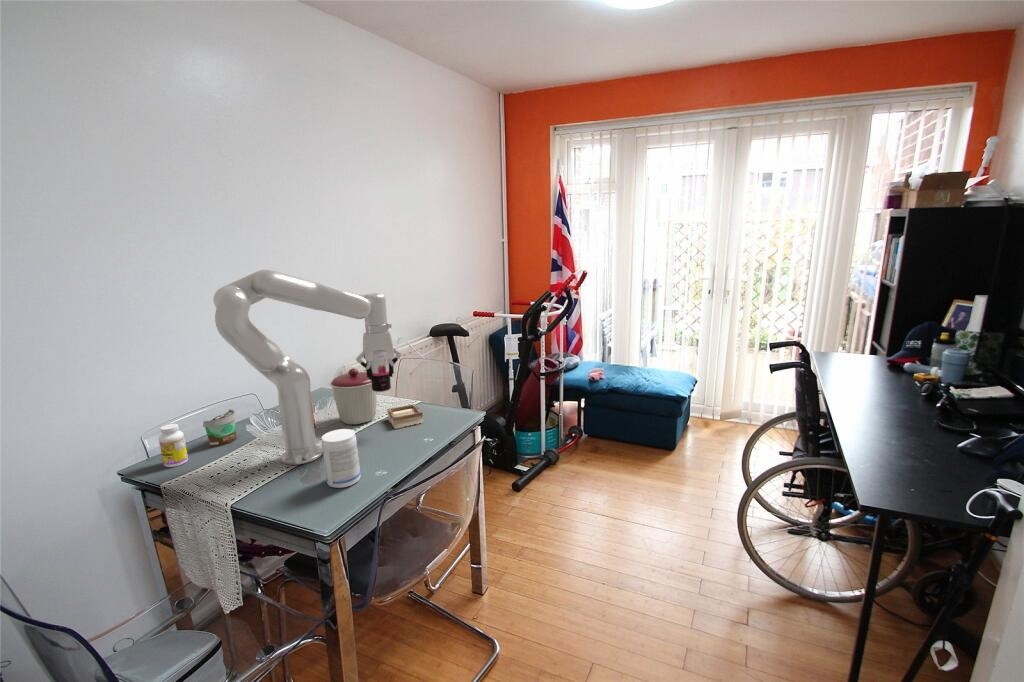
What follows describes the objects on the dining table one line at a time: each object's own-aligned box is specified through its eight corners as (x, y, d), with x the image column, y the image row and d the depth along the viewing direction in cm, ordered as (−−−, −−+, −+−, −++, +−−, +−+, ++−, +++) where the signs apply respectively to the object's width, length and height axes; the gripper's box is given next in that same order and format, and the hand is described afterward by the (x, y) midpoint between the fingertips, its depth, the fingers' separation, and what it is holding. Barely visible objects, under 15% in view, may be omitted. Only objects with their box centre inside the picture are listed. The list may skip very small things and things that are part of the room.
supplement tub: (367, 476, 142) (363, 431, 139) (344, 492, 134) (339, 444, 131) (343, 470, 146) (338, 426, 143) (319, 485, 138) (313, 438, 135)
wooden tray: (423, 423, 182) (422, 412, 181) (394, 428, 177) (393, 418, 176) (415, 413, 192) (414, 404, 191) (388, 419, 187) (387, 409, 186)
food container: (222, 449, 164) (217, 422, 161) (207, 448, 165) (202, 421, 163) (248, 435, 175) (244, 409, 173) (233, 434, 177) (229, 408, 174)
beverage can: (388, 392, 167) (384, 351, 164) (369, 392, 168) (366, 351, 164) (393, 386, 174) (390, 347, 171) (375, 387, 174) (372, 347, 171)
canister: (386, 410, 196) (381, 361, 192) (376, 427, 179) (371, 374, 174) (341, 412, 195) (336, 363, 191) (328, 430, 178) (321, 376, 173)
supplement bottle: (159, 466, 153) (151, 429, 150) (179, 457, 159) (172, 421, 156) (173, 469, 150) (165, 431, 147) (193, 460, 156) (186, 423, 154)
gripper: (398, 324, 173) (401, 371, 177) (349, 329, 165) (353, 378, 169) (403, 328, 166) (407, 376, 170) (352, 333, 159) (357, 384, 163)
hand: (380, 377), depth 170 cm, fingers closed on beverage can, 6 cm apart
